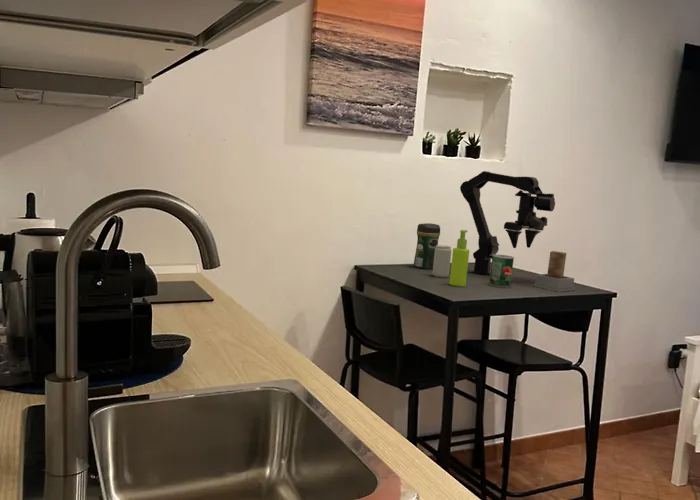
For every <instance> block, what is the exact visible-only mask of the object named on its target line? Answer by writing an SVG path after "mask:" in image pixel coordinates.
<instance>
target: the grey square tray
mask: <svg viewBox="0 0 700 500" xmlns="http://www.w3.org/2000/svg"><path fill="white" fill-rule="evenodd" d="M547 274H548V273H539V274H536V275H535V283H533V287H536V288H541V289H545V290H549V291H553V292H557V291H558V293H559V292H561V291H562V292H570V291H575V289H576V288H575V287H574V283H575V278H574V277H570V276H565V275H563V279H557V278H552V277H548V276H547ZM562 292H561V293H562Z"/></svg>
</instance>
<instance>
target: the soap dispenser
mask: <svg viewBox="0 0 700 500" xmlns="http://www.w3.org/2000/svg"><path fill="white" fill-rule="evenodd" d="M459 233H460V234H459V235H460V236H459V238H458V239H457V242H456V247H454V248H452V253H451V262H450V272H449V282H448V283H449V285H451V286H454V287H466V285H467V275H468V268H469V267H468V266H469V258H470V249H469V248H467V245H468V244H467V243H468V240H467V239H466V233H468V230H466V229H461V230H460V231H459Z"/></svg>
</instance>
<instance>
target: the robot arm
mask: <svg viewBox="0 0 700 500" xmlns="http://www.w3.org/2000/svg"><path fill="white" fill-rule="evenodd" d="M488 182H491V183H496V184H501V185H506V186H511V187H514V188H516V189H518V190H519V191H518V192H516V193H515V194H514V197H519V203H518V209H517V210H515V213H516V214H517V220H514V221H506V222H504V225H503V229H504V230H505V232H506V233H507V235H508V237H509V240H510V243H511V245H512V248H513V249H516V248H517V246H518V242H519V236H520V235H521V234H522V233H523V231H522V230H523V229H524V234H525V241H526V242H525V243H526V248H528V249H530V248H531V246H532V243H533V241H534V240H535V238H536V236H537V235H538V234H540V233H541V232H542V231H544V229H545V227H547V226H548V217H545V216H541V217H538V216H537V213H536V212H537V211H543V212H544V211H545V212H553V211H554V210H555V207H556V200H555V193H545V192H544V193H543V191H542V190H541V187H540V186H539V185H540V184H539V181H538V178H537V177H533V176H512V175H506V174H501V173H495V172H491V171H489V170H488V171H486V170H485V171H484V170H483V171H481V172H480V173H479V174H477V175H476V176H473V177H472V178H470V179H469V180H465V181H463V182H462V183H461V185H460V186H459V187H460V188H459V190H460V193H461V194H462V196H463V199H464V200H465V202H467V203H468V206H469V209H470V212H471V215H472V218H473V222H474V224H475V228H476V231H477V234H478V244H477V245H478V249H476V251H474V252H473V253H472V255H473V259H474V266H473V267H474V268H473V270H471V271H470V273H474V274H477V275H483V276H485V275H486V276H487V275H490V272H491V264H492V255H497V254H498V252H499V250H500V249H499V246H500V244H499V242H498V237H497V236H496V235H492V234H491V232H490V229H489V226H488V221H487V220H486V217H485V213H484V210H483V207H482V203H481V191H480V190H481V189H482V188H483V187H484V186H485V185H486V184H487V183H488ZM535 208H536V210H537V211H535Z"/></svg>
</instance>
